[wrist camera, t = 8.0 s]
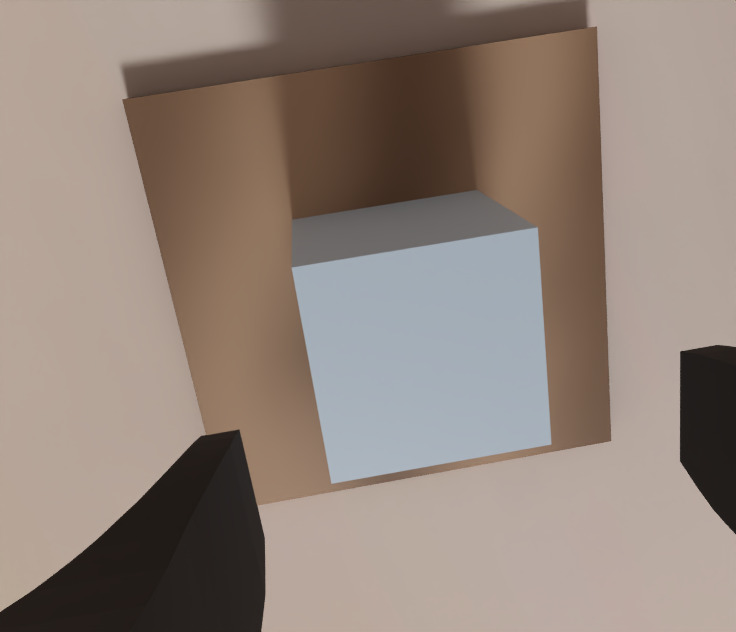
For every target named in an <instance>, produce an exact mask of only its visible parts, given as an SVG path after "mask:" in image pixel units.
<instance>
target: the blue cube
mask: <svg viewBox="0 0 736 632" xmlns="http://www.w3.org/2000/svg"><path fill="white" fill-rule="evenodd" d="M292 273H293V278H294V283H295V289H296V294H297V300H298V305H299V310H300V316H301V321H302V327H303V332H304V338H305V343H306V348H307V354H308V359H309V365H310V370H311V375H312V381H313V386H314V392H315V397H316V403H317V408H318V413H319V419H320V424H321V430H322V435H323V440H324V446H325V451H326V457H327V462H328V468H329V473H330V478H331V484H333V483H339V482H344V481H350V480H356V479H361V478H367V477H372V476H378V475H384V474H389V473H395V472H400V471H406V470H412V469H417V468H423V467H428V466H434V465H440V464H445V463H451V462H456V461H462V460H468V459H473V458H479V457H484V456H490V455H496V454H501V453H507V452H512V451H518V450H524V449H529V448H535V447H540V446H546V445H551V429H550V413H549V397H548V381H547V365H546V350H545V334H544V318H543V302H542V286H541V270H540V254H539V238H538V227H536V226H535V225H533V224H532V223H530V222H528V221H527V220H525V219H523V218H522V217H520V216H519V215H517V214H515V213H514V212H512V211H510V210H509V209H507V208H506V207H504V206H502V205H501V204H499V203H497V202H496V201H494V200H493V199H491V198H489V197H488V196H486V195H485V194H483V193H481V192H480V191H478V190H474V191H467V192H461V193H455V194H449V195H442V196H436V197H430V198H424V199H417V200H411V201H405V202H399V203H393V204H386V205H380V206H374V207H368V208H361V209H355V210H349V211H343V212H336V213H330V214H324V215H318V216H311V217H305V218H299V219H293V220H292Z"/></svg>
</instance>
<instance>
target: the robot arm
mask: <svg viewBox="0 0 736 632" xmlns="http://www.w3.org/2000/svg"><path fill="white" fill-rule="evenodd" d="M680 462H681V463H682V465H683V466H684V468H685V469H686V471H687V472H688V474H689V475H690V477H691V478H692V480H693V481H694V483H695V485H696V486H697V488H698V489H699V490H700V492H701V493H702V495H703V496H704V497H705V499H706V500H707V501H708V503H709V504H710V506H711V507H712V508H713V510H714V511H715V512H716V513H717V514H718V515H719V516H720V518H721V519H722V520H723V521H724V522H725V523H726V524H727V525H728V526H729V528H730V529H731V530H732V531H733V532H734V533H735V534H736V347H731V346H721V345H715V346H709V347H703V348H698V349H692V350H686V351H681V352H680ZM264 602H265V537H264V533H263V529H262V524H261V520H260V516H259V511H258V507H257V503H256V498H255V494H254V490H253V485H252V481H251V477H250V473H249V468H248V464H247V460H246V455H245V451H244V447H243V442H242V438H241V434H240V429H239V430H233V431H227V432H222V433H216V434H210V435H205V436H201V437H200V438H198V439H197V440H196V441H195V442H194V443H193V444H192V445H191V446H190V447H189V448H188V449H187V450H186V451H185V452H184V453H183V454H182V456H181V457H180V458H179V459H178V460H177V461H176V462H175V463H174V464H173V465H172V466H171V467H170V468H169V469H168V471H167V472H166V473H165V474H164V475H163V476H162V477H161V478H160V479H159V480H158V481H157V482H156V483H155V484H154V485H153V486H152V487H151V488H150V489H149V490H148V491H147V492H146V493H145V495H144V496H143V497H142V498H141V499H140V500H139V501H138V502H137V503H136V504H134V505H133V506H132V507H131V508H130V509H129V510H128V511H127V512H126V513H125V514H124V515H123V516H122V517H121V518H120V519H118V520H117V521H116V522H115V523H114V524H113V525H112V526H111V527H110V528H109V529H108V530H107V531H106V532H105V533H104V534H102V535H101V536H100V537H99V538H98V539H97V540H96V541H95V542H94V543H92V544H91V545H90V546H89V547H88V548H87V549H85V550H84V551H83V552H82V553H81V554H79V555H78V556H77V557H76V558H75V559H73V560H72V561H71V562H70V563H68V564H67V565H66V566H64V567H63V568H62V569H60V570H59V571H58V572H57V573H55V574H54V575H53V576H51V577H50V578H49V579H47V580H46V581H45V582H44V583H42V584H41V585H39V586H38V587H37V588H35V589H34V590H33V591H31V592H30V593H28V594H27V595H25V596H24V597H22V598H21V599H19V600H18V601H16V602H15V603H13V604H12V605H10V606H9V607H7V608H6V609H4V610H3V611H1V612H0V632H261V628H262V620H263V611H264Z"/></svg>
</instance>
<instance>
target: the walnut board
mask: <svg viewBox="0 0 736 632" xmlns="http://www.w3.org/2000/svg"><path fill="white" fill-rule="evenodd" d="M123 104H124V108H125V112H126V116H127V120H128V124H129V128H130V132H131V136H132V140H133V144H134V148H135V152H136V156H137V160H138V164H139V168H140V172H141V176H142V180H143V184H144V188H145V192H146V196H147V200H148V204H149V208H150V212H151V216H152V220H153V224H154V228H155V232H156V236H157V240H158V244H159V248H160V252H161V256H162V260H163V264H164V268H165V272H166V276H167V280H168V284H169V288H170V292H171V296H172V300H173V304H174V308H175V312H176V316H177V320H178V324H179V328H180V332H181V336H182V340H183V344H184V348H185V352H186V356H187V360H188V364H189V368H190V372H191V376H192V380H193V384H194V388H195V392H196V396H197V400H198V404H199V408H200V412H201V416H202V420H203V424H204V428H205V432H206V435H210V434H216V433H222V432H227V431H233V430H239V429H240V434H241V438H242V442H243V447H244V451H245V455H246V460H247V464H248V468H249V473H250V477H251V481H252V485H253V490H254V494H255V498H256V503H257V505H262V504H268V503H273V502H279V501H284V500H290V499H295V498H301V497H306V496H312V495H317V494H323V493H328V492H334V491H339V490H345V489H350V488H356V487H361V486H367V485H372V484H378V483H383V482H389V481H394V480H400V479H405V478H411V477H416V476H422V475H427V474H433V473H438V472H444V471H449V470H455V469H460V468H466V467H471V466H477V465H482V464H488V463H493V462H499V461H504V460H510V459H515V458H521V457H526V456H532V455H537V454H542V453H548V452H553V451H559V450H564V449H570V448H575V447H581V446H586V445H592V444H597V443H603V442H608V441H611V424H610V395H609V366H608V337H607V308H606V279H605V250H604V221H603V192H602V163H601V134H600V106H599V77H598V48H597V27H591V28H584V29H578V30H571V31H565V32H558V33H552V34H545V35H539V36H532V37H526V38H519V39H513V40H506V41H500V42H493V43H487V44H480V45H474V46H467V47H461V48H454V49H448V50H441V51H435V52H428V53H422V54H415V55H409V56H402V57H396V58H389V59H383V60H376V61H370V62H363V63H357V64H350V65H344V66H337V67H331V68H324V69H318V70H311V71H305V72H298V73H292V74H285V75H279V76H272V77H266V78H259V79H253V80H246V81H240V82H233V83H227V84H221V85H214V86H208V87H201V88H195V89H188V90H182V91H175V92H169V93H162V94H156V95H149V96H143V97H136V98H130V99H123ZM474 190H478V191H480V192H481V193H483V194H485V195H486V196H488V197H489V198H491V199H493V200H494V201H496V202H497V203H499V204H501V205H502V206H504V207H506V208H507V209H509V210H510V211H512V212H514V213H515V214H517V215H519V216H520V217H522V218H523V219H525V220H527V221H528V222H530V223H532V224H533V225H535V226H536V227H538V238H539V254H540V270H541V286H542V302H543V318H544V334H545V350H546V365H547V381H548V397H549V413H550V429H551V445H546V446H540V447H535V448H529V449H524V450H518V451H512V452H507V453H501V454H496V455H490V456H484V457H479V458H473V459H468V460H462V461H456V462H451V463H445V464H440V465H434V466H428V467H423V468H417V469H412V470H406V471H400V472H395V473H389V474H384V475H378V476H372V477H367V478H361V479H356V480H350V481H344V482H339V483H333V484H331V478H330V473H329V468H328V462H327V457H326V451H325V446H324V440H323V435H322V430H321V424H320V419H319V413H318V408H317V403H316V397H315V392H314V386H313V381H312V375H311V370H310V365H309V359H308V354H307V348H306V343H305V338H304V332H303V327H302V321H301V316H300V310H299V305H298V300H297V294H296V289H295V283H294V278H293V273H292V220H293V219H299V218H305V217H311V216H318V215H324V214H330V213H336V212H343V211H349V210H355V209H361V208H368V207H374V206H380V205H386V204H393V203H399V202H405V201H411V200H417V199H424V198H430V197H436V196H442V195H449V194H455V193H461V192H467V191H474Z"/></svg>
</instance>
